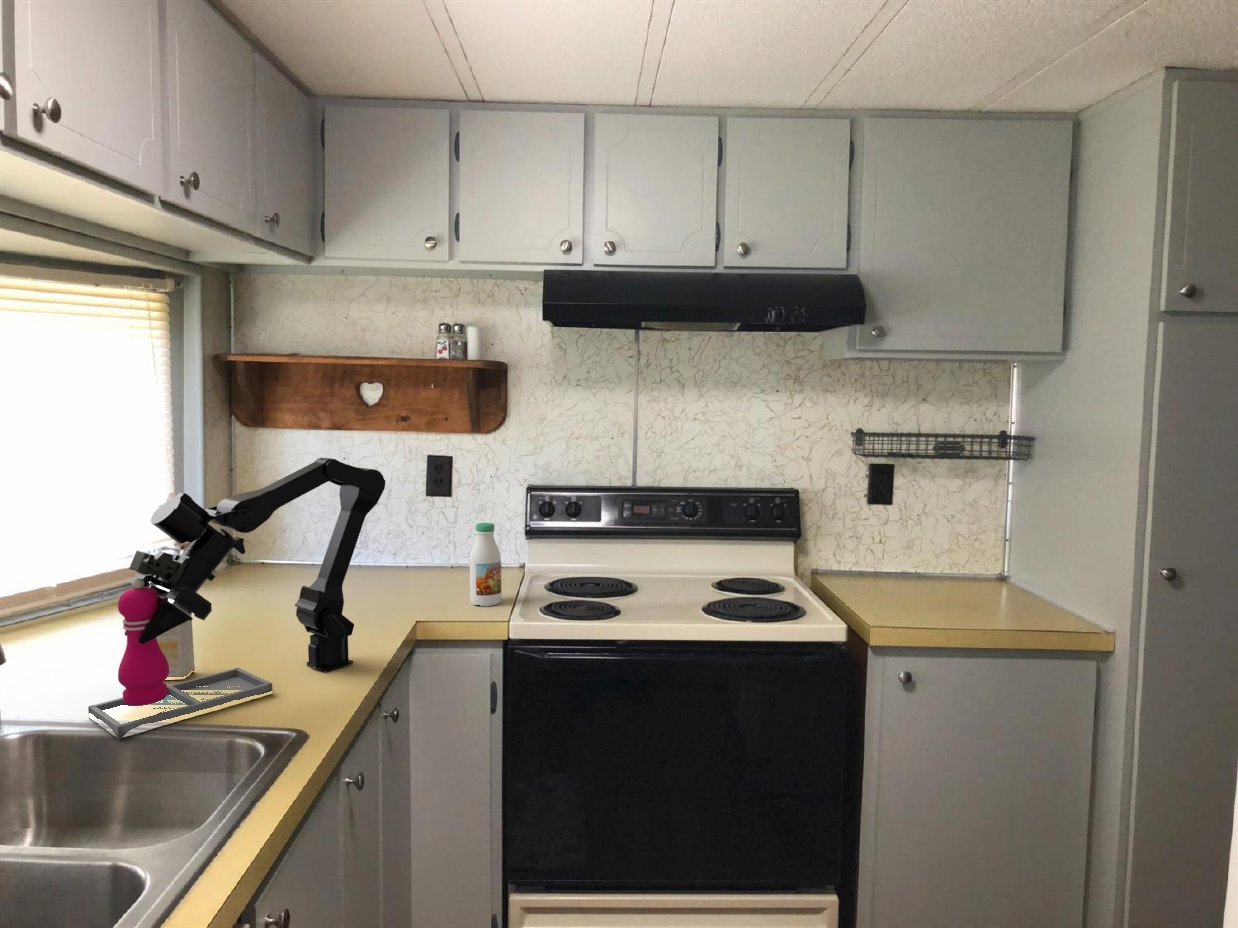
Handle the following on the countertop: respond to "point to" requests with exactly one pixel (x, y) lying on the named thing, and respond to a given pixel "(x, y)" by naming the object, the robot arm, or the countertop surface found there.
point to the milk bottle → (485, 568)
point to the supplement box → (178, 649)
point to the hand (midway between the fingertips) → (133, 639)
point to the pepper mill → (141, 649)
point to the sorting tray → (216, 681)
